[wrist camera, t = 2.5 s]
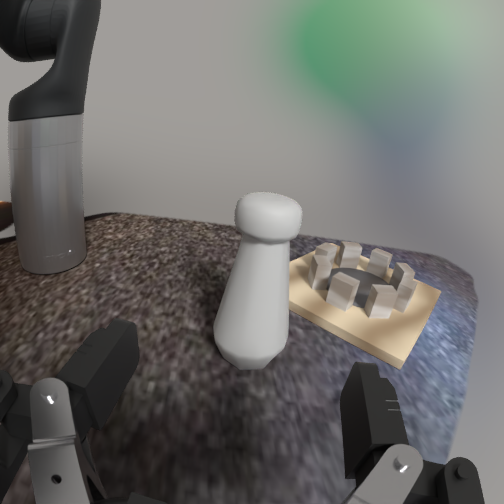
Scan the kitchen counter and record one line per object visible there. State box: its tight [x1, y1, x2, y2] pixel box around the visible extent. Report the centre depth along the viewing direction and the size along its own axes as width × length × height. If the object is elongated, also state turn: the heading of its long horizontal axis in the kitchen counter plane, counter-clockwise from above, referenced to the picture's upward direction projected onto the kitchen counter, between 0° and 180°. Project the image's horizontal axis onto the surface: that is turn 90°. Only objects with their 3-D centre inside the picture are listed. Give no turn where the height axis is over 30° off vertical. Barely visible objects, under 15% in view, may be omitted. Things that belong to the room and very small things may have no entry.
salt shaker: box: [213, 192, 302, 370], centre depth 23 cm, size 6×6×13 cm
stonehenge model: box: [289, 241, 441, 369], centre depth 35 cm, size 18×18×4 cm
